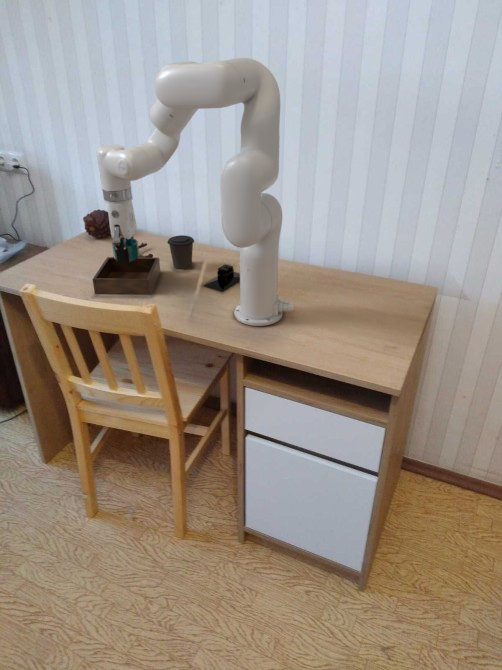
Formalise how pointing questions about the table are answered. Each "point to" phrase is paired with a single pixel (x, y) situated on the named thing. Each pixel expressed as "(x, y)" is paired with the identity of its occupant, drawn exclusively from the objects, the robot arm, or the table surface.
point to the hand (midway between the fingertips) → (126, 256)
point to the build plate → (224, 279)
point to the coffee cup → (181, 251)
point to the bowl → (129, 249)
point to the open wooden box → (127, 276)
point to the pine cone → (97, 223)
